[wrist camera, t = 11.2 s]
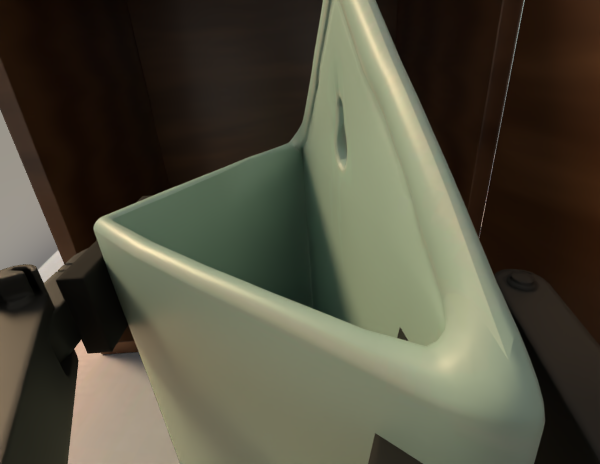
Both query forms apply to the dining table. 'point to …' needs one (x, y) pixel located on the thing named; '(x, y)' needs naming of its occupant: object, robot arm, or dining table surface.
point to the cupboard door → (551, 157)
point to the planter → (327, 287)
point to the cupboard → (218, 93)
